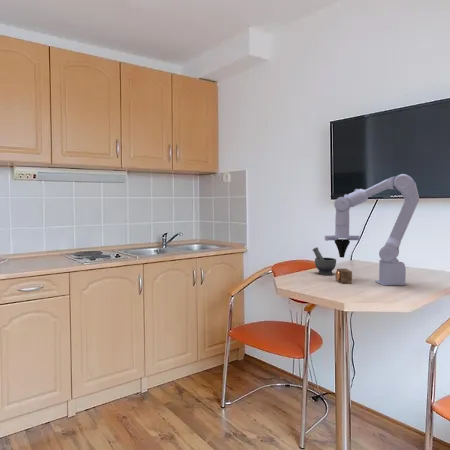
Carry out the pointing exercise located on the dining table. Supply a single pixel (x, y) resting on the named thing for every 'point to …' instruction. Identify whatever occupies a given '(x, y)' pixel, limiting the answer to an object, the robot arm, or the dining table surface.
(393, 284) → the robot arm
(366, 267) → the dining table surface
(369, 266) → the dining table surface
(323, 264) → the mortar and pestle
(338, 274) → the pin
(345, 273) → the block
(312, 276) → the dining table surface
